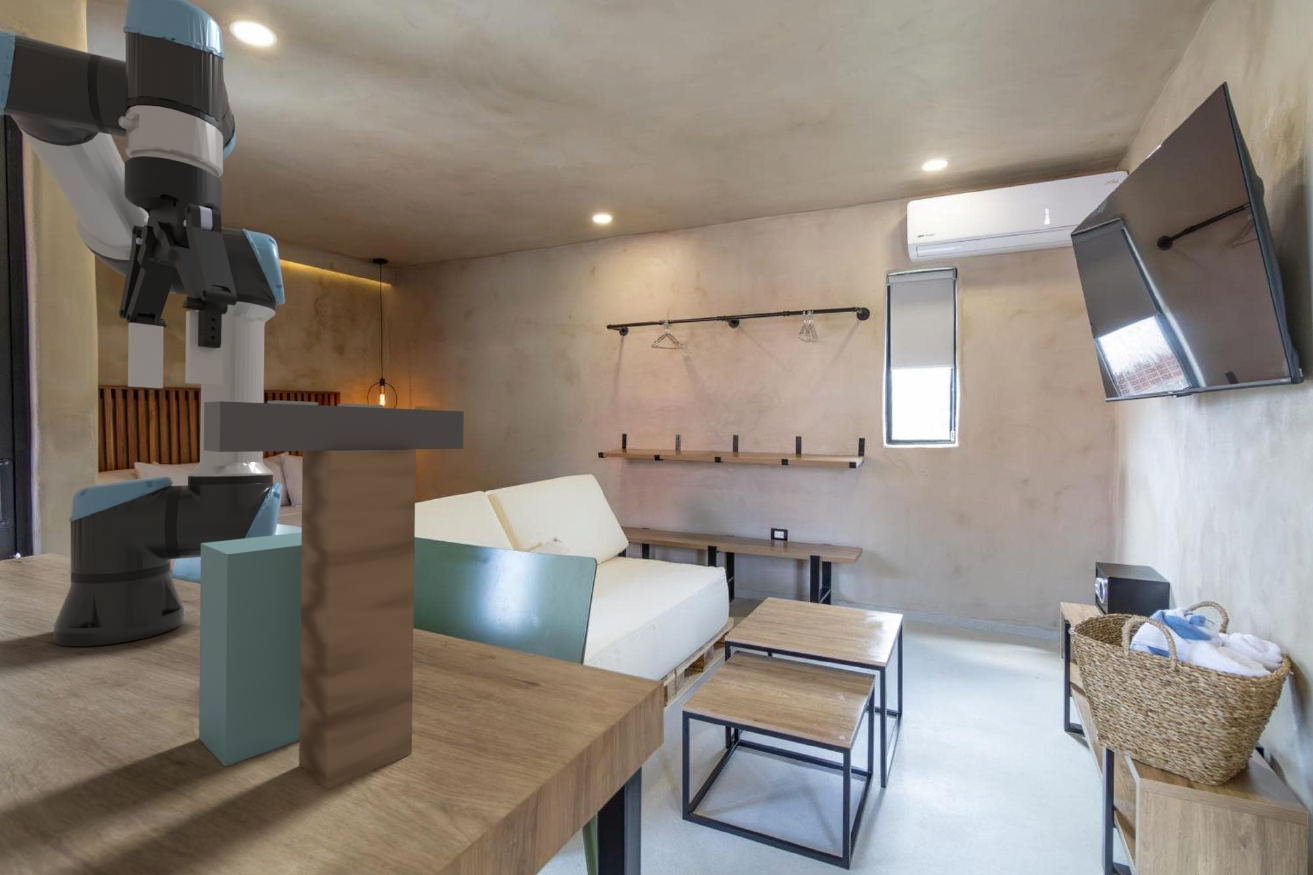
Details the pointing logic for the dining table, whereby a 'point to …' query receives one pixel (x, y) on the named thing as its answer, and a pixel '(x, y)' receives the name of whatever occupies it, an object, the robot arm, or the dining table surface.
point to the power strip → (327, 427)
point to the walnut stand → (356, 611)
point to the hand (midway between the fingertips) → (173, 386)
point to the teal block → (250, 645)
